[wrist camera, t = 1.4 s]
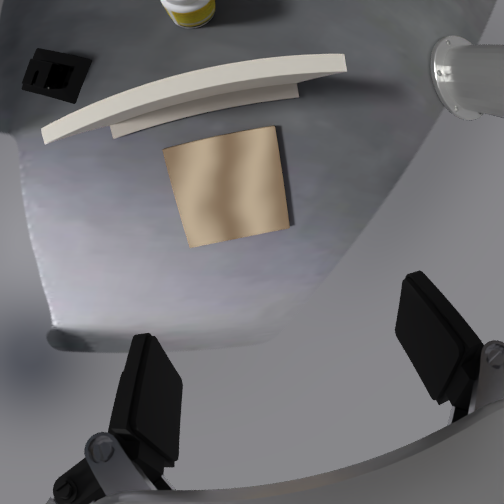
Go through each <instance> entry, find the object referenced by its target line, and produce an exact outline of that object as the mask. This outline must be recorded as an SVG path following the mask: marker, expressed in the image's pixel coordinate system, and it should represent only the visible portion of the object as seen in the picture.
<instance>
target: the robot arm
mask: <svg viewBox="0 0 504 504" xmlns="http://www.w3.org/2000/svg"><path fill="white" fill-rule="evenodd" d="M430 67H431V76H432V80H433V84H434V87H435V90H436V92H437V94H438V96H439V98H440V100H441V102H442V103H443V105H444V106H445V107H446V109H447V110H449V112H450V113H451V114H453V115H454V116H456V117H458V118H460V119H463V120H469V121H472V120H476V119H478V118H479V117H481V116H482V115H483V114H484V113H485V114H489V115H493V116H497V117H501V118H504V45H472V44H471V43H470V42H469V41H467V40H466V39H464V38H462V37H459V36H446V37H443V38H441V39H440V40H438V41H437V43H436V44H435V46H434V48H433V50H432V54H431V64H430ZM395 333H396V336H397V338H398V340H399V342H400V343H401V345H402V346H403V348H404V350H405V352H406V353H407V355H408V357H409V358H410V360H411V362H412V363H413V366H414V367H415V369H416V371H417V373H418V374H419V376H420V378H421V380H422V382H423V383H424V385H425V387H426V389H427V391H428V393H429V394H430V396H431V398H432V399H433V400H436V401H437V402H438V404H439V405H440V404H442V403H444V402H446V401H448V400H449V401H450V402H451V404H452V409H451V414H450V417H449V422H448V425H447V426H446V427H444V428H442V429H440V430H438V431H437V432H434V433H432V434H430V435H428V436H426V437H424V438H422V439H420V440H418V441H415V442H413V443H411V444H408V445H406V446H404V447H401V448H399V449H397V450H394V451H392V452H389V453H387V454H384V455H381V456H378V457H376V458H373V459H370V460H367V461H364V462H361V463H358V464H355V465H352V466H348V467H345V468H341V469H338V470H334V471H331V472H327V473H323V474H319V475H315V476H310V477H306V478H301V479H296V480H291V481H285V482H279V483H273V484H267V485H260V486H252V487H242V488H231V489H216V490H185V491H183V490H176V489H175V488H174V487H173V486H172V485H171V484H170V482H169V481H168V480H167V479H166V478H165V477H164V475H163V472H164V467H174V462H175V461H177V460H178V456H179V434H180V416H181V401H182V389H183V384H182V380H181V377H180V376H179V374H178V373H177V371H176V370H175V368H174V366H173V365H172V363H171V361H170V360H169V358H168V357H167V355H166V353H165V352H164V350H163V348H162V347H161V345H160V343H159V342H158V340H157V338H156V337H155V336H151V334H150V333H144V334H138V335H134V337H133V339H132V343H131V346H130V350H129V354H128V357H127V361H126V365H125V369H124V371H123V372H122V374H121V377H120V381H119V385H118V389H117V393H116V398H115V402H114V406H113V411H112V416H111V420H110V425H109V429H108V433H107V432H99V433H96V434H94V435H93V436H91V437H90V438H89V440H88V441H87V443H86V445H85V449H84V454H85V458H84V459H83V460H82V461H80V462H79V463H78V464H76V465H75V466H74V467H72V468H71V469H70V470H68V471H67V472H66V473H65V474H63V475H62V476H61V477H59V478H58V479H57V480H56V482H55V484H54V487H53V494H54V498H51V497H50V498H49V500H48V501H47V503H46V504H504V343H503V342H501V341H495V340H493V341H489V342H488V343H486V344H485V345H483V343H482V342H481V340H480V339H479V338H478V336H477V335H476V334H475V332H474V331H473V330H472V329H471V327H470V326H469V325H468V324H467V322H466V321H465V320H464V319H463V317H462V316H461V315H460V314H459V313H458V311H457V310H456V309H455V308H454V307H453V306H452V305H451V303H450V302H449V301H448V300H447V299H446V298H445V296H444V295H443V294H442V293H441V292H440V291H439V289H437V287H436V286H435V285H434V284H433V283H432V282H431V281H430V280H429V279H428V277H427V276H426V275H425V274H424V273H423V272H422V271H417V272H413V273H410V274H407V276H406V278H405V279H404V280H403V282H402V289H401V296H400V303H399V309H398V315H397V321H396V327H395Z"/></svg>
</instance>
